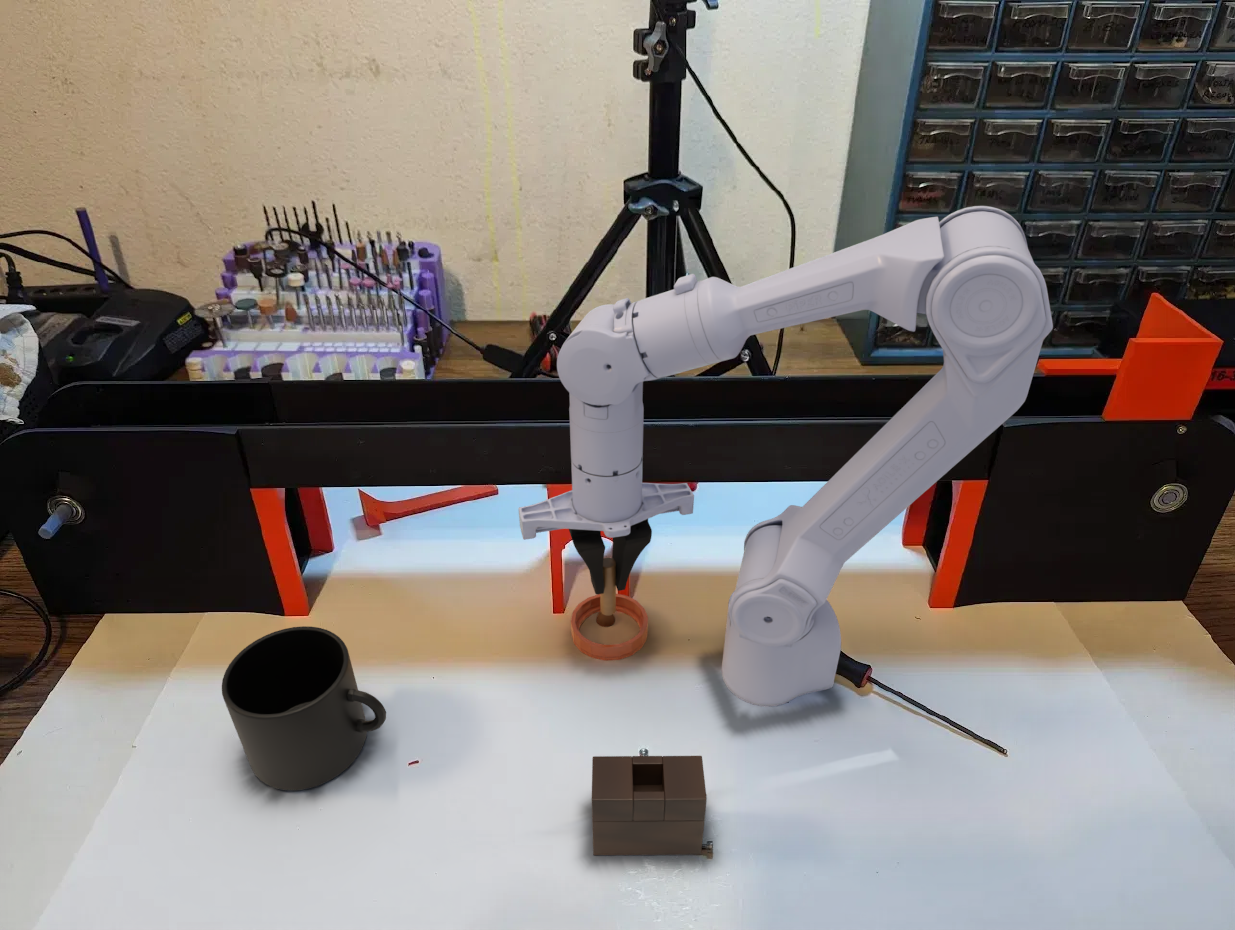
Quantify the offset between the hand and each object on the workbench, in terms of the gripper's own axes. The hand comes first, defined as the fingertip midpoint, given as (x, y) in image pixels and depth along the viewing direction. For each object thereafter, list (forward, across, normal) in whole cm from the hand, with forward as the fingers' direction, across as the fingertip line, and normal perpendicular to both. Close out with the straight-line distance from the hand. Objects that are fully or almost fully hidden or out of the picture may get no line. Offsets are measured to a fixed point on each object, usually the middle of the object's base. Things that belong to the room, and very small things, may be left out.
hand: (607, 584), depth 72 cm
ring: (+8, 0, +1) cm, 9 cm away
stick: (+3, 0, 0) cm, 3 cm away
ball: (+7, 0, +3) cm, 8 cm away
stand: (+8, -2, -18) cm, 20 cm away
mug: (+9, -26, -4) cm, 27 cm away
